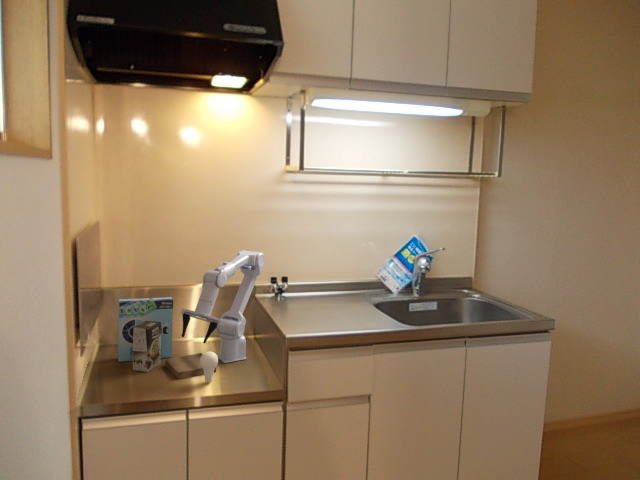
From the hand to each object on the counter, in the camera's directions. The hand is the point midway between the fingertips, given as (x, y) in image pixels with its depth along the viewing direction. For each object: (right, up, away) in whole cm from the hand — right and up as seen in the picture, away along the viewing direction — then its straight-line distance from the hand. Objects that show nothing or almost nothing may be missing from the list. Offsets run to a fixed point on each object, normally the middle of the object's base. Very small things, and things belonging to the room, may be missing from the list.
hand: (193, 339), depth 175 cm
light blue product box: (-23, -11, +19) cm, 32 cm away
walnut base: (-4, -13, +11) cm, 17 cm away
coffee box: (-20, -12, +11) cm, 25 cm away
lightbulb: (+5, -15, 0) cm, 16 cm away
